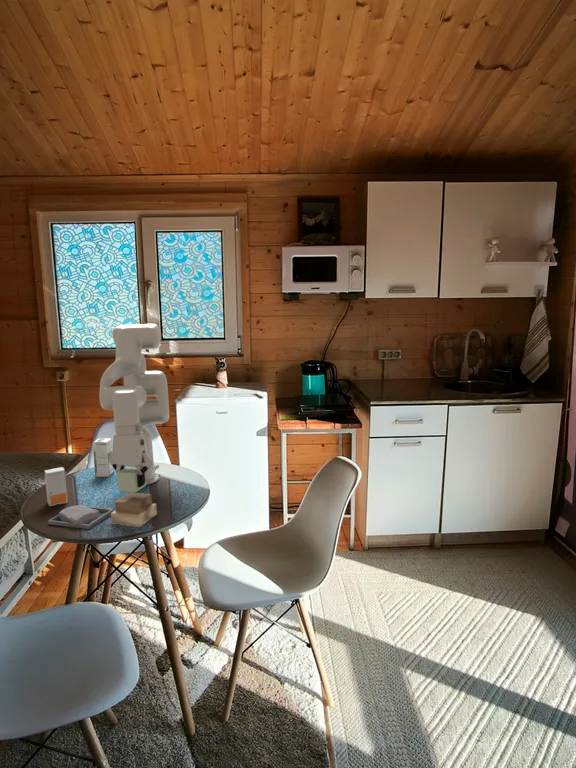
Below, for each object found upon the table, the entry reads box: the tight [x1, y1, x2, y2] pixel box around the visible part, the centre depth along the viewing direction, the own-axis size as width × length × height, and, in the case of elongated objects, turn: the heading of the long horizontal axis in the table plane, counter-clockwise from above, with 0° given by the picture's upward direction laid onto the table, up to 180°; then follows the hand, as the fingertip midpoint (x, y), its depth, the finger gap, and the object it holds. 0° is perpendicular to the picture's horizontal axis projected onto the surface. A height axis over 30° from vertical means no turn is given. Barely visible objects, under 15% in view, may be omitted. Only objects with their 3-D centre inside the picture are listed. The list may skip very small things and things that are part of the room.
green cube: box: [116, 466, 147, 493], centre depth 160 cm, size 6×6×6 cm
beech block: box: [110, 502, 158, 528], centre depth 162 cm, size 10×10×4 cm
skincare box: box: [44, 466, 69, 507], centre depth 176 cm, size 6×4×12 cm
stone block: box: [58, 504, 100, 528], centre depth 164 cm, size 12×5×10 cm
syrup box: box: [92, 437, 115, 478], centre depth 204 cm, size 6×6×14 cm
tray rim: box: [47, 504, 114, 530], centre depth 164 cm, size 12×15×1 cm
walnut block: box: [114, 492, 153, 514], centre depth 162 cm, size 8×8×4 cm
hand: (132, 484), depth 161 cm, fingers closed on green cube, 6 cm apart
